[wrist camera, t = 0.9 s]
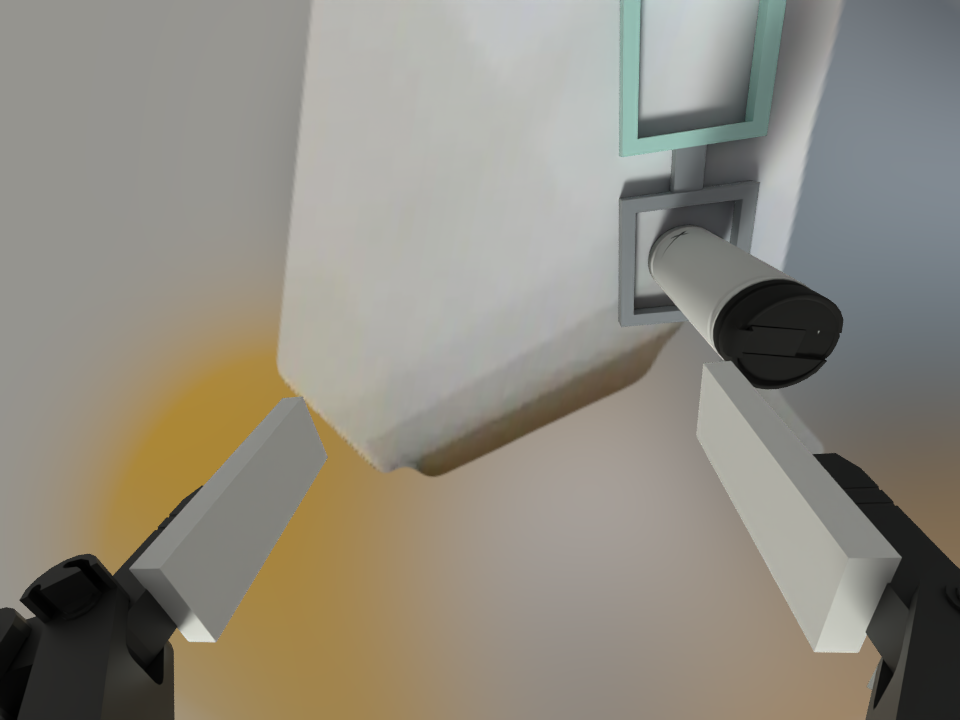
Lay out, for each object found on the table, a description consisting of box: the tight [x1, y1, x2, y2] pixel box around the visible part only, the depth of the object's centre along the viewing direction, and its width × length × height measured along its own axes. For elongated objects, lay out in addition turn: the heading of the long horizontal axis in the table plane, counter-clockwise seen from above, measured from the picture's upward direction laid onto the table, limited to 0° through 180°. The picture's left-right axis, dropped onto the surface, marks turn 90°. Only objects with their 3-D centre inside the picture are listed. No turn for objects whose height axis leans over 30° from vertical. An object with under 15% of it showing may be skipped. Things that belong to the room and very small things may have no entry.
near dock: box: [619, 0, 786, 157], centre depth 34 cm, size 12×11×2 cm
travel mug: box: [648, 225, 843, 389], centre depth 33 cm, size 6×7×20 cm
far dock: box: [619, 145, 760, 327], centre depth 40 cm, size 16×11×2 cm
